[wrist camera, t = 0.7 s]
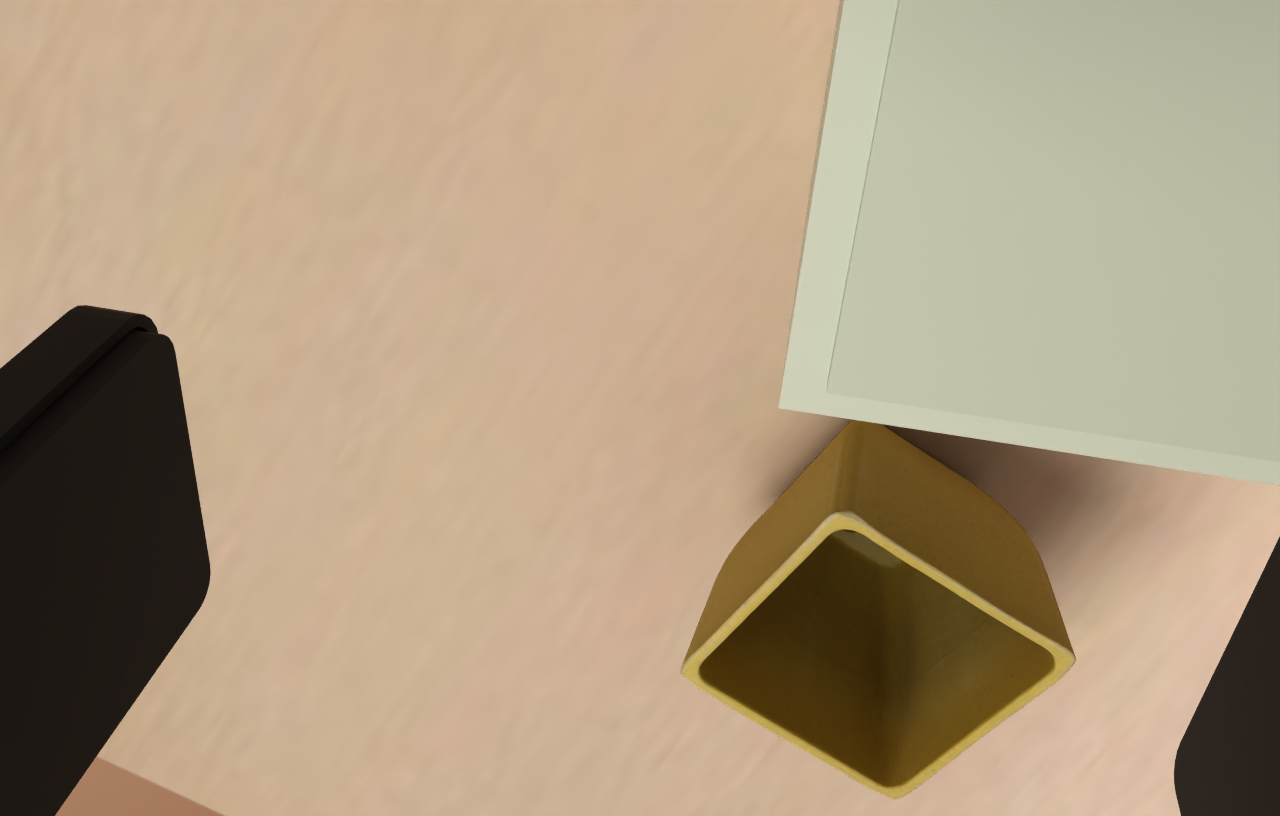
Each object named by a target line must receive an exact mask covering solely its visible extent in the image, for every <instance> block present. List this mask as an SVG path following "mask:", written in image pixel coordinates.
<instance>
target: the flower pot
mask: <svg viewBox="0 0 1280 816" xmlns="http://www.w3.org/2000/svg"><path fill="white" fill-rule="evenodd" d="M1075 661H1076V658H1075V655H1074V652H1073V649H1072V647H1071V644H1070V641H1069V638H1068V634H1067V632H1066V629H1065V626H1064V623H1063V620H1062V617H1061V614H1060V611H1059V608H1058V605H1057V602H1056V599H1055V596H1054V593H1053V590H1052V587H1051V584H1050V581H1049V578H1048V575H1047V572H1046V570H1045V567H1044V564H1043V562H1042V559H1041V557H1040V555H1039V553H1038V551H1037V549H1036V547H1035V546H1034V544H1033V542H1032V541H1031V539H1030V538H1029V536H1028V535H1027V533H1026V532H1025V531H1024V529H1023V528H1022V527H1021V526H1020V524H1019V523H1018V522H1017V521H1016V520H1015V519H1014V518H1013V517H1012V516H1011V515H1010V514H1009V513H1008V512H1007V511H1006V510H1005V509H1004V508H1003V507H1002V506H1001V505H999V504H998V503H997V502H996V501H995V500H994V499H992V498H991V497H990V496H989V495H987V494H986V493H985V492H983V491H982V490H981V489H979V488H978V487H977V486H976V485H974V484H973V483H972V482H970V481H969V480H967V479H965V478H964V477H962V476H961V475H959V474H958V473H956V472H954V471H953V470H951V469H949V468H948V467H946V466H945V465H943V464H942V463H940V462H939V461H937V460H936V459H934V458H932V457H931V456H929V455H928V454H926V453H925V452H923V451H921V450H920V449H918V448H917V447H915V446H914V445H912V444H911V443H909V442H908V441H906V440H905V439H903V438H902V437H900V436H899V435H897V434H896V433H894V432H892V431H891V430H890V429H888V428H887V427H885V426H884V425H882V424H878V423H872V422H865V421H859V420H853V421H851V422H850V423H849V424H848V425H847V426H845V427H844V428H843V430H842V431H841V432H840V433H839V434H838V435H837V436H836V437H835V438H834V439H833V441H832V442H831V443H830V444H829V445H828V446H827V447H826V448H825V449H824V450H823V451H822V453H821V454H820V455H819V456H818V457H817V458H816V459H815V460H814V461H813V462H812V463H811V464H810V465H809V466H808V468H807V469H806V470H805V471H804V472H803V473H802V474H801V475H800V476H799V477H798V478H797V479H796V480H795V481H794V482H793V483H792V485H791V486H790V487H789V488H788V489H787V490H786V491H785V492H784V493H783V494H782V495H781V496H780V497H779V498H778V499H777V500H776V501H775V502H774V504H773V505H772V506H771V507H770V508H769V509H768V510H767V511H766V512H765V513H764V514H763V515H762V516H761V517H760V518H759V519H758V520H757V521H756V522H755V523H754V524H753V525H752V526H751V528H750V529H749V530H748V531H747V532H746V533H745V535H744V536H743V537H742V538H741V539H740V541H739V542H738V543H737V545H736V546H735V547H734V549H733V550H732V552H731V553H730V554H729V556H728V558H727V559H726V561H725V563H724V564H723V566H722V568H721V570H720V572H719V574H718V576H717V578H716V581H715V583H714V585H713V588H712V591H711V593H710V596H709V598H708V601H707V603H706V606H705V608H704V611H703V613H702V616H701V618H700V621H699V623H698V626H697V628H696V631H695V633H694V636H693V639H692V641H691V644H690V647H689V649H688V652H687V654H686V657H685V659H684V662H683V665H682V668H681V675H682V676H683V677H684V678H685V679H686V680H688V681H689V682H690V683H692V684H693V685H694V686H696V687H697V688H699V689H700V690H702V691H704V692H705V693H707V694H709V695H710V696H712V697H713V698H715V699H716V700H718V701H720V702H721V703H723V704H724V705H726V706H728V707H730V708H731V709H733V710H735V711H736V712H738V713H740V714H742V715H743V716H745V717H747V718H749V719H751V720H752V721H754V722H756V723H757V724H759V725H761V726H763V727H764V728H766V729H768V730H769V731H771V732H773V733H774V734H776V735H778V736H779V737H781V738H783V739H785V740H787V741H789V742H790V743H792V744H794V745H796V746H797V747H799V748H801V749H803V750H804V751H806V752H808V753H810V754H811V755H813V756H815V757H816V758H818V759H820V760H821V761H823V762H825V763H827V764H828V765H830V766H832V767H834V768H835V769H837V770H839V771H840V772H842V773H844V774H845V775H847V776H848V777H850V778H851V779H853V780H855V781H857V782H858V783H860V784H862V785H864V786H866V787H868V788H870V789H872V790H874V791H876V792H878V793H880V794H883V795H885V796H887V797H890V798H892V799H899V798H902V797H903V796H905V795H907V794H909V793H910V792H912V791H913V790H914V789H916V788H917V787H919V786H920V785H922V784H923V783H924V782H925V781H927V780H928V779H929V778H931V777H932V776H933V775H934V774H936V773H937V772H938V771H939V770H940V769H942V768H943V767H944V766H945V765H947V764H948V763H949V762H951V761H952V760H953V759H955V758H956V757H957V756H959V755H960V754H961V753H962V752H964V751H965V750H966V749H967V748H969V747H970V746H971V745H973V744H974V743H975V742H976V741H978V740H979V739H980V738H981V737H983V736H984V735H986V734H987V733H988V732H990V731H991V730H992V729H994V728H995V727H996V726H998V725H999V724H1000V723H1002V722H1003V721H1004V720H1006V719H1007V718H1008V717H1010V716H1011V715H1013V714H1014V713H1015V712H1017V711H1018V710H1020V709H1021V708H1023V707H1024V706H1025V705H1027V704H1028V703H1029V702H1030V701H1032V700H1033V699H1034V698H1036V697H1037V696H1039V695H1040V694H1041V693H1043V692H1044V691H1045V690H1046V689H1048V688H1049V687H1050V686H1052V685H1053V684H1055V683H1056V682H1057V681H1058V680H1059V679H1061V678H1062V677H1063V676H1064V675H1065V674H1066V673H1067V672H1068V670H1069V669H1070V668H1071V667H1072V666H1073V664H1074V663H1075Z"/></svg>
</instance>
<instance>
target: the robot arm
mask: <svg viewBox="0 0 1280 816" xmlns="http://www.w3.org/2000/svg"><path fill="white" fill-rule="evenodd" d="M209 582H210V562H209V556H208V550H207V544H206V537H205V531H204V525H203V519H202V513H201V507H200V501H199V495H198V488H197V482H196V476H195V470H194V464H193V458H192V452H191V446H190V439H189V433H188V427H187V421H186V415H185V409H184V403H183V397H182V390H181V384H180V378H179V372H178V366H177V360H176V354H175V350H174V346H173V343H172V342H171V340H170V339H169V337H167V336H165V335H163V334H158V331H157V327H156V326H155V324H154V323H153V321H152V320H151V319H150V318H149V317H147V316H145V315H143V314H137V313H131V312H124V311H118V310H112V309H106V308H100V307H93V306H87V305H84V306H77V307H75V308H73V309H71V310H69V311H68V312H67V313H66V314H65V315H63V316H62V317H61V318H60V319H59V320H57V321H56V322H55V323H54V324H53V325H52V326H50V327H49V328H48V329H47V330H46V331H44V332H43V333H42V334H41V335H40V336H38V337H37V338H36V339H35V340H34V341H33V342H31V343H30V344H29V345H28V346H27V347H25V348H24V349H23V350H22V351H21V352H20V353H18V354H17V355H16V356H15V357H14V358H12V359H11V360H10V361H9V362H8V363H6V364H5V365H4V366H3V367H2V368H1V369H0V816H55V815H56V813H57V812H58V810H59V809H60V807H61V806H62V805H63V803H64V802H65V800H66V799H67V798H68V796H69V795H70V793H71V792H72V790H73V789H74V787H75V786H76V785H77V783H78V782H79V780H80V779H81V778H82V776H83V775H84V773H85V772H86V770H87V769H88V768H89V766H90V765H91V763H92V762H93V760H94V759H95V758H96V756H97V755H98V753H99V752H100V750H101V749H102V748H103V746H104V745H105V743H106V742H107V740H108V739H109V738H110V736H111V735H112V733H113V732H114V730H115V729H116V728H117V726H118V725H119V723H120V722H121V720H122V719H123V718H124V716H125V715H126V713H127V712H128V710H129V709H130V707H131V706H132V705H133V703H134V702H135V700H136V699H137V697H138V696H139V695H140V693H141V692H142V690H143V689H144V687H145V686H146V685H147V683H148V682H149V680H150V679H151V677H152V676H153V675H154V673H155V672H156V670H157V669H158V667H159V666H160V665H161V663H162V662H163V660H164V659H165V657H166V656H167V655H168V653H169V652H170V650H171V649H172V647H173V646H174V645H175V643H176V642H177V640H178V639H179V637H180V636H181V635H182V633H183V632H184V630H185V629H186V627H187V626H188V625H189V623H190V622H191V620H192V619H193V617H194V616H195V615H196V613H197V612H198V610H199V609H200V607H201V605H202V603H203V602H204V599H205V597H206V594H207V591H208V587H209ZM1174 784H1175V791H1176V796H1177V800H1178V804H1179V808H1180V813H1181V816H1280V537H1279V539H1278V541H1277V543H1276V545H1275V548H1274V550H1273V552H1272V554H1271V556H1270V558H1269V560H1268V562H1267V564H1266V566H1265V568H1264V570H1263V572H1262V574H1261V577H1260V579H1259V581H1258V583H1257V585H1256V587H1255V589H1254V591H1253V593H1252V595H1251V597H1250V599H1249V601H1248V603H1247V606H1246V608H1245V610H1244V612H1243V614H1242V616H1241V618H1240V620H1239V622H1238V624H1237V626H1236V628H1235V630H1234V632H1233V635H1232V637H1231V639H1230V641H1229V643H1228V645H1227V647H1226V649H1225V651H1224V653H1223V655H1222V657H1221V659H1220V661H1219V664H1218V666H1217V668H1216V670H1215V672H1214V674H1213V676H1212V678H1211V680H1210V682H1209V684H1208V686H1207V688H1206V690H1205V693H1204V695H1203V697H1202V699H1201V701H1200V703H1199V705H1198V707H1197V709H1196V711H1195V713H1194V715H1193V717H1192V719H1191V722H1190V724H1189V726H1188V728H1187V730H1186V732H1185V734H1184V736H1183V738H1182V740H1181V742H1180V745H1179V748H1178V750H1177V755H1176V759H1175V768H1174Z"/></svg>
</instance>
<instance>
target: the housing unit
mask: <svg viewBox="0 0 1280 816" xmlns="http://www.w3.org/2000/svg"><path fill="white" fill-rule="evenodd" d="M778 408H781V409H788V410H794V411H801V412H807V413H814V414H820V415H827V416H833V417H840V418H846V419H853V420H859V421H865V422H872V423H878V424H885V425H891V426H898V427H904V428H911V429H917V430H924V431H930V432H937V433H943V434H950V435H956V436H962V437H969V438H975V439H982V440H988V441H995V442H1001V443H1008V444H1014V445H1021V446H1027V447H1034V448H1040V449H1047V450H1053V451H1059V452H1066V453H1072V454H1079V455H1085V456H1092V457H1098V458H1105V459H1111V460H1118V461H1124V462H1131V463H1137V464H1143V465H1150V466H1156V467H1163V468H1169V469H1176V470H1182V471H1189V472H1195V473H1202V474H1208V475H1215V476H1221V477H1228V478H1234V479H1240V480H1247V481H1253V482H1260V483H1266V484H1273V485H1279V486H1280V0H841V1H840V7H839V14H838V20H837V26H836V32H835V39H834V45H833V51H832V57H831V64H830V70H829V76H828V82H827V89H826V95H825V101H824V107H823V114H822V120H821V126H820V132H819V139H818V145H817V151H816V158H815V164H814V170H813V176H812V183H811V189H810V195H809V202H808V208H807V215H806V222H805V229H804V236H803V243H802V249H801V256H800V263H799V270H798V277H797V284H796V291H795V297H794V304H793V311H792V318H791V325H790V332H789V338H788V345H787V352H786V359H785V366H784V373H783V380H782V386H781V393H780V400H779V407H778Z"/></svg>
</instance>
